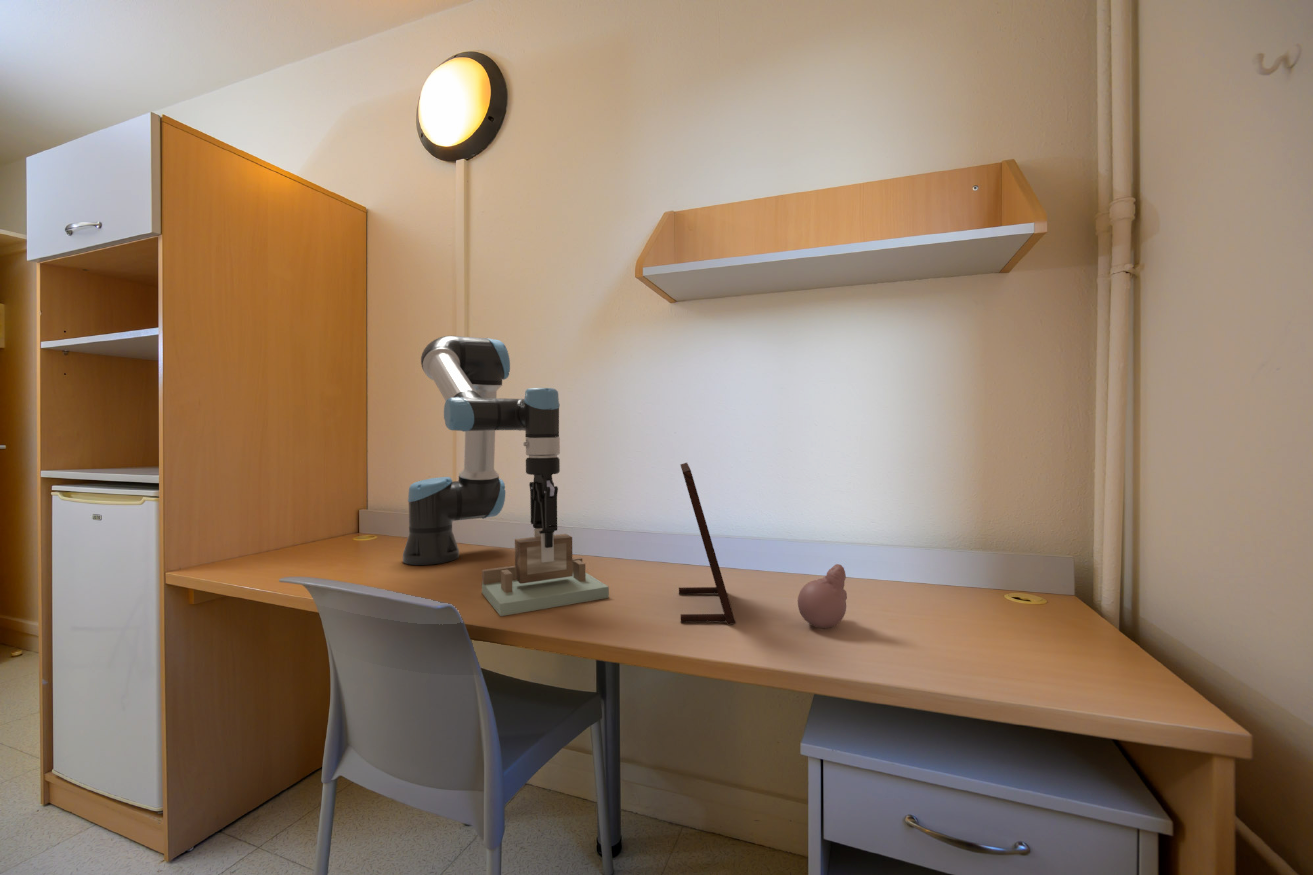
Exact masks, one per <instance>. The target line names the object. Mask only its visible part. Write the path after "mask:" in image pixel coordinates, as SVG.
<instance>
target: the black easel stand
mask: <svg viewBox="0 0 1313 875" xmlns="http://www.w3.org/2000/svg"><path fill="white" fill-rule="evenodd" d="M679 465H680V468H681V472H682V476H683V478H684V482H685V484H686V485H685V486H686V488H687V491H688V496H689V500H690V502H691V505H692V509H693V512H694V513H693V514H694V516H695V520H696V522H697V526H698V530H699V534H700V536H701V540H702V544H703V546H704V549H705V553H706V557H707V559H708V563H709V566H710V567H709V568H710V571H711V573H712V577H713V581H714V584H715V586H714V587H713V586H711V587H710V586H707V587H706V586H705V587H704V586H702V587H700V586H699V587H697V586H695V587H690V586H689V587H688V586H687V587H685V586H684V587H678V595H701V594H702V595H703V594H704V595H705V594H707V595H709V594H710V595H716V594H717V595H718V599H719V601H720V605H721V608H722V611H723V613H695V614H694V613H686V614H685V613H681V614H680V623H704V622H705V623H707V622H708V623H714V622H715V623H716V622H717V623H718V622H721V623H722V622H723V623H724V622H725V623H726V625H727V626H730V625H732V624H736V620H735V617H734V614H733V610H732V607H731V603H730V600H729V599H730V598H729V596H728V592H727V589H726V586H725V582H724V579H723V576H722V572H721V568H720V565H719V563H718V562H719V561H718V558H717V556H716V550H715V549H714V545H713V542H712V538H711V535H710V530H709V528H708V524H707V520H706V518H705V515H704V510H703V507H702V504H701V500H700V496H699V494H698V490H697V486H696V484H695V480H694V476H693V474H692V473H693V472H692V470H691V468H690V465H689V464H688V462H684V463H681V464H679Z"/></svg>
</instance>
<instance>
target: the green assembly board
mask: <svg viewBox="0 0 1313 875" xmlns="http://www.w3.org/2000/svg"><path fill="white" fill-rule="evenodd" d="M572 562H573V576H570V577H563V578H556V579H549V580H543V581H536V582H529V583H522V584H520V583H519V582H518V581H517V580H516V579H515V565H511V566H502V567H494V568H486V569H482V570H481V577H482V578H481V580H482V581H481V594H482V595H483V596H484V598H485V599H486V600H487V601H488V602H489V604H490V605H491V607H492V608H493V609H494V610H495V611H496V612H497V614H498V615H499V616H500V617H505V616H509V615H510V616H511V615H516V614H521V613H527V612H532V611H533V612H534V611H539V610H546V609H550V608H556V607H563V606H569V605H574V604H580V603H586V602H591V601H598V600H603V599H609V597H610V590H609V589H610V587H609V585H607V584H605V583H603V582H601V581H600V580H598V579H597V578H595V577H594V576H592V575H591V574H589V573H587V572H586V563H585V562H583V558H582V557H580V556H579V557H572Z"/></svg>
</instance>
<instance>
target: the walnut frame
mask: <svg viewBox="0 0 1313 875" xmlns="http://www.w3.org/2000/svg"><path fill="white" fill-rule="evenodd" d="M572 558H573V536H571V535H569V534H567V533H559V534H554V561H550V562H543V563H542V562H541V536H540V537H534V536H530V537H523V538H521V537H520V538H515V539H514V566H515V579H516V580H517V581H518V582H519V583H520V584H522V583H529V582H536V581H543V580H549V579H556V578H563V577H570V576H573V562H572Z"/></svg>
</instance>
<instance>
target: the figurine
mask: <svg viewBox="0 0 1313 875" xmlns="http://www.w3.org/2000/svg"><path fill="white" fill-rule="evenodd" d="M846 579H847V576H846V571H845V567H844V566H842V564H838V563H836V564H834V565H833V566H832V567H831V568H830V569H828V571H827V572H826V575H825V576H823V578H818V579H814V580H811V581H809V582H807V583H806V584H805V585H803V587H801V589H800V591H799V594H798V596H797V607H798V610H799V613H800V615H801V617H802V619H803V620H804V621H806V622H807V623H808V624H809V625H811V626H813V627H815V628H817V629H818V628H819V629H829V628H833V627H835V626H836V625H838V624H839V623H840V622H841V621H842V620H843V619H844V616H845V615H846V612H847V598H848V595H847V594H848V593H847V590H845V589H844V588H845V581H846Z"/></svg>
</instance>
